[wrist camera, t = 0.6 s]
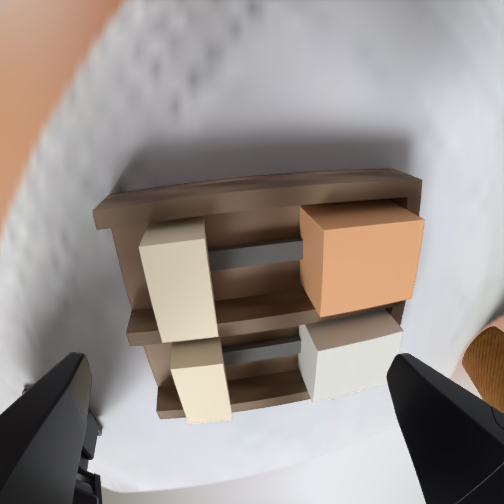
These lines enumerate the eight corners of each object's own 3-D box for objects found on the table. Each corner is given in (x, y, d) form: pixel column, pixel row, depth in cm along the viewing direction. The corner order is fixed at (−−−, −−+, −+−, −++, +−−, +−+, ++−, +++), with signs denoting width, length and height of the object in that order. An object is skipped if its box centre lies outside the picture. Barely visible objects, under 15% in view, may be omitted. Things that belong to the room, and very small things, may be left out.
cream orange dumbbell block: (166, 302, 20) (162, 342, 16) (150, 218, 18) (138, 247, 14) (380, 272, 22) (410, 301, 18) (388, 195, 19) (425, 215, 16)
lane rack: (161, 388, 24) (159, 419, 21) (108, 194, 18) (92, 211, 15) (369, 354, 26) (385, 379, 23) (393, 168, 20) (422, 180, 17)
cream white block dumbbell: (187, 383, 23) (188, 424, 19) (172, 327, 21) (170, 369, 17) (367, 352, 25) (388, 385, 21) (377, 296, 22) (404, 327, 19)
